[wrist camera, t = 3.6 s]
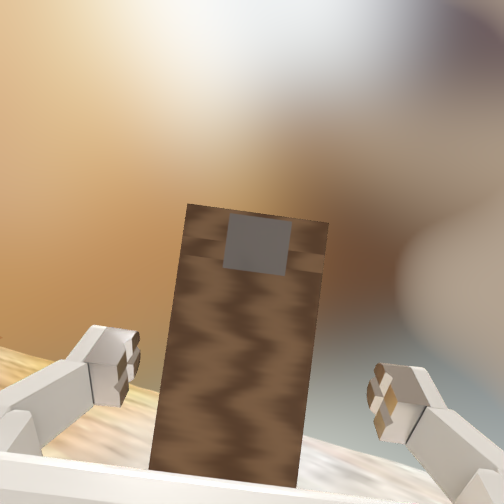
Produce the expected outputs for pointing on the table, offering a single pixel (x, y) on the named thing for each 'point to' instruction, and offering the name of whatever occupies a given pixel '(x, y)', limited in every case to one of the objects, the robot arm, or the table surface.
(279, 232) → the grey stepped bar
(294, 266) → the post
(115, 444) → the table surface
